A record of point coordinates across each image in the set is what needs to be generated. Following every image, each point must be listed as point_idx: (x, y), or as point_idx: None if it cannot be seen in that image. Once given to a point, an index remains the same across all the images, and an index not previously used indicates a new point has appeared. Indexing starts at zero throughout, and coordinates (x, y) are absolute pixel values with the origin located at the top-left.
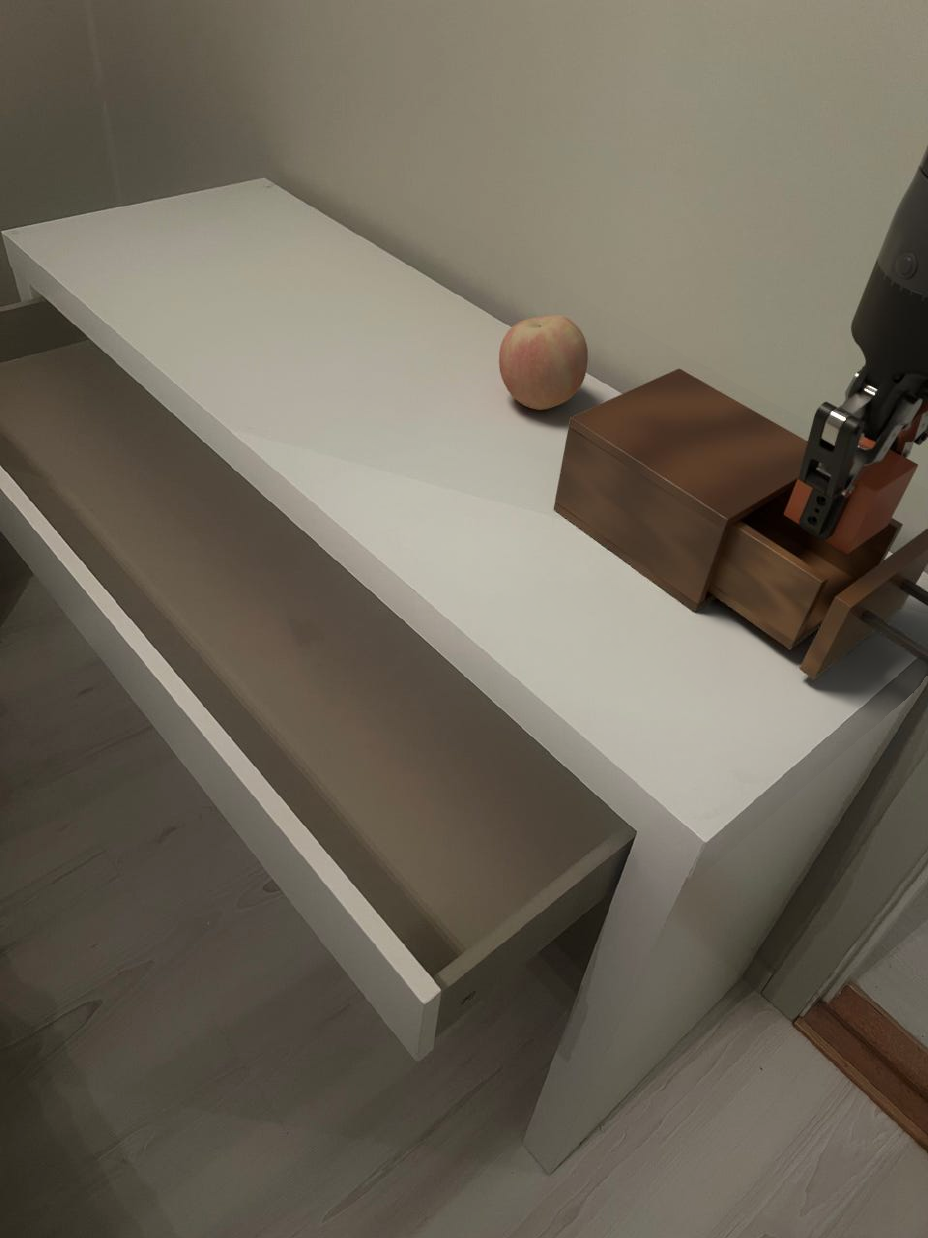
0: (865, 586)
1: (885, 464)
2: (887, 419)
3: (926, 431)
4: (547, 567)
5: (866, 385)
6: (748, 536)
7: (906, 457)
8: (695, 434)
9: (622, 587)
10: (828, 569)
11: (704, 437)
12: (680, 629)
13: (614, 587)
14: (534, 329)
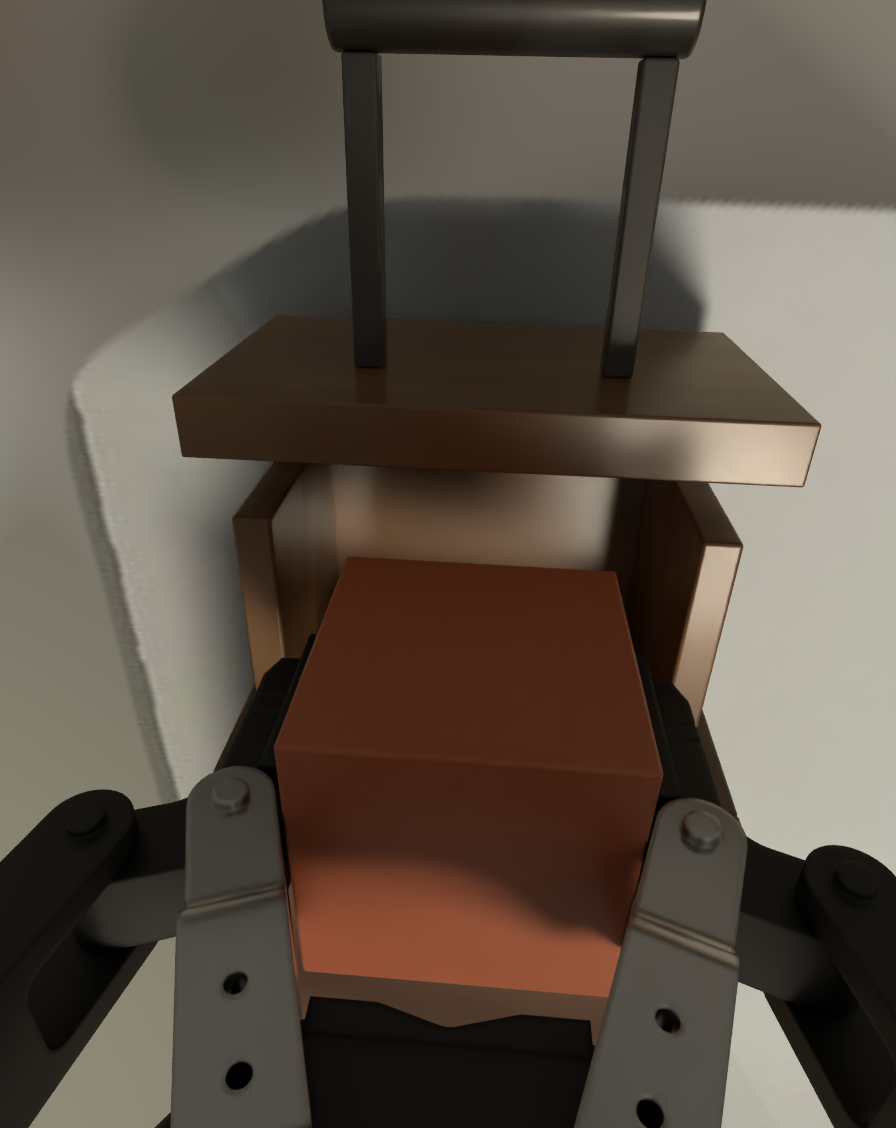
0: (670, 446)
1: (418, 826)
2: None
3: (75, 850)
4: (766, 840)
5: None
6: None
7: (239, 781)
8: (465, 1011)
9: (713, 742)
10: (358, 522)
11: (454, 996)
12: (743, 615)
13: (725, 750)
14: None
